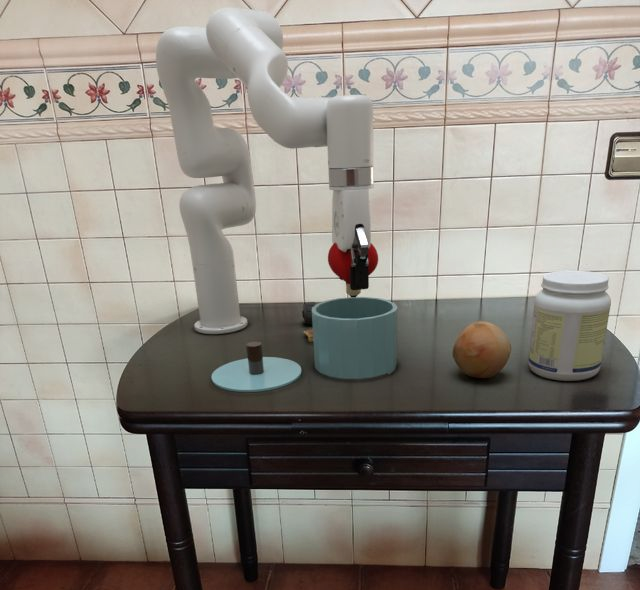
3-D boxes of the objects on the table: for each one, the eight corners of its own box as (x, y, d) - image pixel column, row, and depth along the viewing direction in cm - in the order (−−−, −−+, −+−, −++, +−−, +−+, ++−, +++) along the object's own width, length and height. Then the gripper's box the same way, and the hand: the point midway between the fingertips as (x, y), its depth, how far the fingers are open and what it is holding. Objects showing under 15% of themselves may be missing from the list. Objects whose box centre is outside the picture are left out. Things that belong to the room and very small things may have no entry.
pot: (307, 357, 120) (304, 301, 115) (383, 349, 123) (383, 293, 118) (323, 385, 106) (320, 323, 101) (407, 375, 109) (409, 314, 104)
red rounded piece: (384, 294, 110) (384, 237, 105) (370, 303, 104) (370, 245, 100) (338, 290, 113) (336, 236, 109) (322, 300, 108) (319, 243, 103)
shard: (354, 345, 126) (354, 337, 125) (323, 352, 123) (322, 344, 122) (329, 332, 134) (329, 325, 134) (299, 339, 131) (299, 331, 130)
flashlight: (303, 328, 139) (301, 305, 136) (302, 321, 144) (301, 299, 141) (368, 323, 139) (368, 301, 137) (366, 317, 144) (365, 295, 142)
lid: (210, 367, 118) (206, 335, 115) (294, 358, 120) (292, 326, 117) (213, 400, 103) (208, 364, 100) (309, 389, 106) (307, 353, 103)
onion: (515, 385, 102) (521, 329, 98) (456, 387, 103) (460, 331, 98) (501, 365, 111) (505, 313, 107) (447, 367, 112) (449, 315, 107)
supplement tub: (594, 360, 111) (609, 269, 104) (604, 385, 101) (622, 285, 93) (525, 357, 114) (535, 268, 107) (528, 381, 104) (539, 284, 96)
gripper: (319, 177, 107) (323, 276, 115) (340, 184, 92) (344, 297, 99) (359, 175, 108) (361, 272, 116) (387, 180, 93) (387, 293, 101)
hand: (353, 283), depth 108 cm, fingers closed on red rounded piece, 7 cm apart
